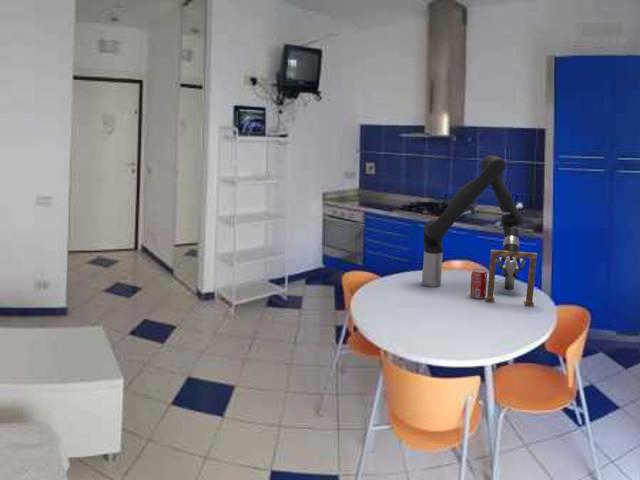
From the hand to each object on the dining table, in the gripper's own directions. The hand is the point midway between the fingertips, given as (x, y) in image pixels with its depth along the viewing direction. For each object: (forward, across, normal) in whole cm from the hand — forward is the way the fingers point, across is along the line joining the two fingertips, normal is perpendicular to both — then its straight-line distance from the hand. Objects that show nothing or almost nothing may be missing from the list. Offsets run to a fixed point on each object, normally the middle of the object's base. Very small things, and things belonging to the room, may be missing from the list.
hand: (510, 276), depth 253 cm
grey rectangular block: (+3, 0, +6) cm, 7 cm away
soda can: (+12, -14, +1) cm, 19 cm away
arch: (+15, 0, -2) cm, 15 cm away
